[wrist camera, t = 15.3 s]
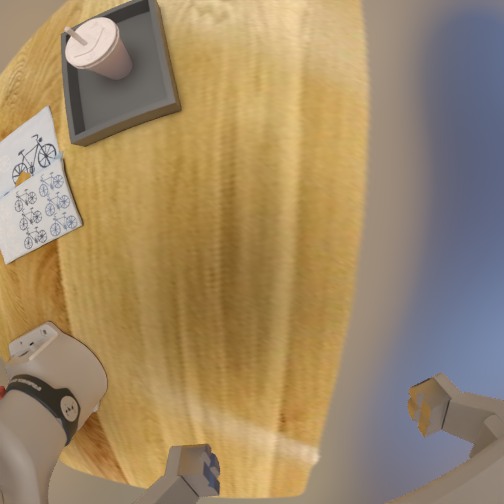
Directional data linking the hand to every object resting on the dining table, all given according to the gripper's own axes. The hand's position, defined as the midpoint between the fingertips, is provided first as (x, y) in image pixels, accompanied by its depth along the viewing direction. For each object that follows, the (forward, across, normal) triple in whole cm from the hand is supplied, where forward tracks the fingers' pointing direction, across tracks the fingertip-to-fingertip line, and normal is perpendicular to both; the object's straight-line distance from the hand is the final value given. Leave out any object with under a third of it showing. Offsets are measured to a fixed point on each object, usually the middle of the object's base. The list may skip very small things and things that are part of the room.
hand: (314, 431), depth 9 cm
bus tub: (+29, +12, -29) cm, 43 cm away
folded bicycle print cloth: (+30, +32, -19) cm, 48 cm away
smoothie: (+28, +12, -29) cm, 42 cm away
